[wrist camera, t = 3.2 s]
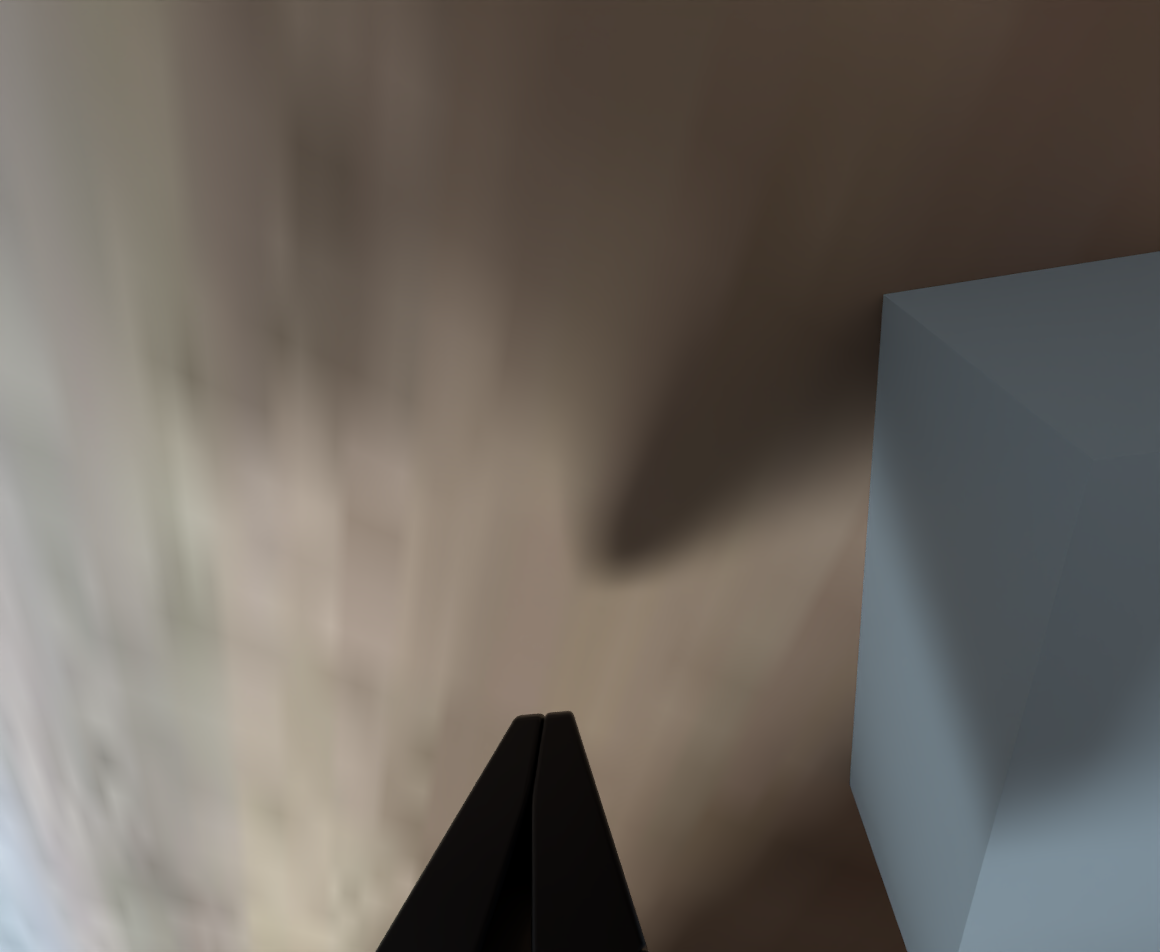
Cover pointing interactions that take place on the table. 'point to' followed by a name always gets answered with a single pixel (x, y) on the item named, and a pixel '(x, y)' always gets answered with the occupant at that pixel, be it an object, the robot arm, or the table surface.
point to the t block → (1016, 613)
